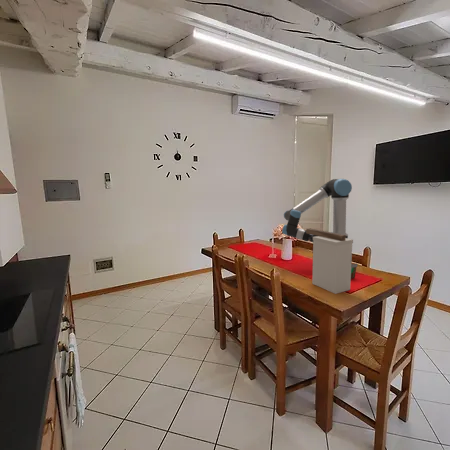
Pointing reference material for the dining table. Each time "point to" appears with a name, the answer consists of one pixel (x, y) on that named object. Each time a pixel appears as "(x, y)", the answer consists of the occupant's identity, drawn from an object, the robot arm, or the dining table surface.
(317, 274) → the beige lidded bin
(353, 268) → the food container
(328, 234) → the walnut bar
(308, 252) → the dining table surface
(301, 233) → the robot arm
